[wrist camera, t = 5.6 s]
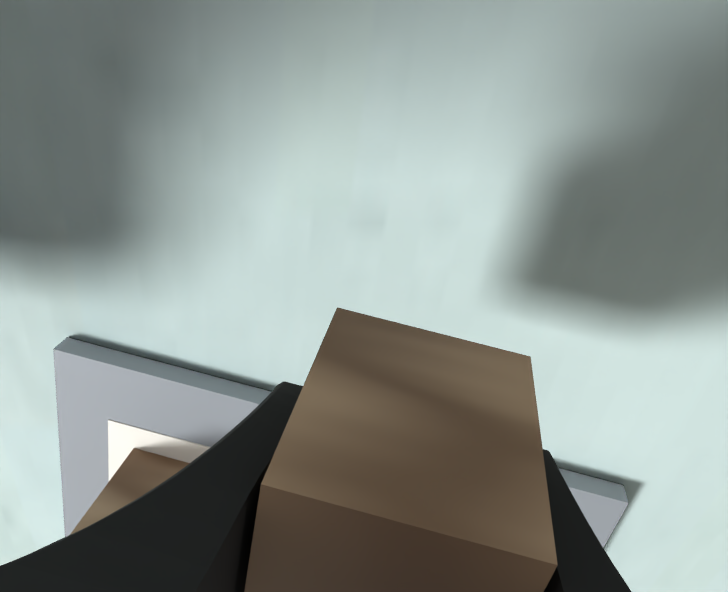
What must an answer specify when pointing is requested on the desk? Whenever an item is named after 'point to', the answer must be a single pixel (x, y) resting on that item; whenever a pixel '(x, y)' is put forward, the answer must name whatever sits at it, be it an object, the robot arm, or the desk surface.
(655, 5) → the desk surface
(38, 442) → the desk surface
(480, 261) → the desk surface
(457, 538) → the block
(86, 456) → the board
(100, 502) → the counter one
